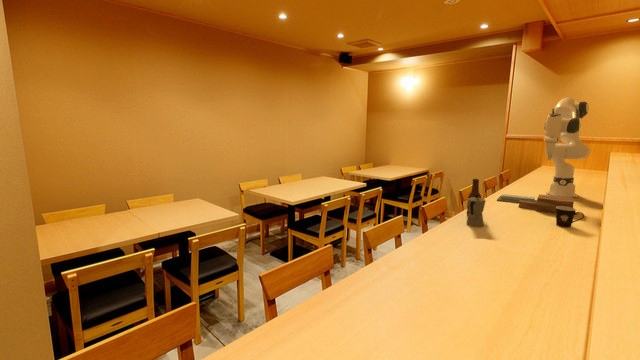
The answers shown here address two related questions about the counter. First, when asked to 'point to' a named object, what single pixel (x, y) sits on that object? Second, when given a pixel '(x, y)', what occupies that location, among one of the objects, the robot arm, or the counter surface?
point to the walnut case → (547, 203)
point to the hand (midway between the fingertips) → (549, 159)
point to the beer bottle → (474, 192)
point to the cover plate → (517, 198)
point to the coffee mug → (565, 216)
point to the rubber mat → (509, 200)
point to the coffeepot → (475, 211)
